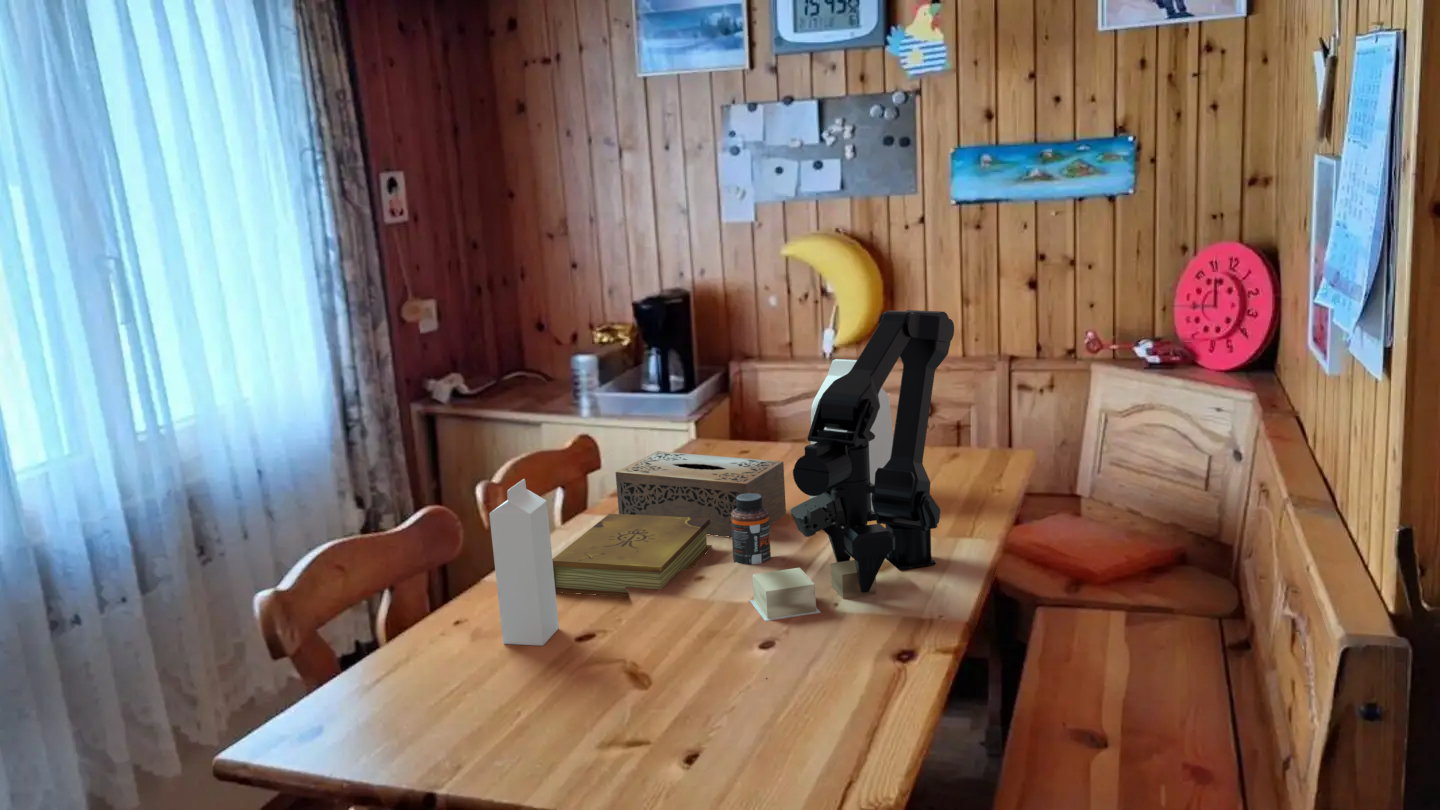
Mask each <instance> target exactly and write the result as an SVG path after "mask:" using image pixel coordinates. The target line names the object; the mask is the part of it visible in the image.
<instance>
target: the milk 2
mask: <svg viewBox="0 0 1440 810" xmlns="http://www.w3.org/2000/svg"><path fill="white" fill-rule="evenodd" d="M857 360H858V359H844V358H842V359H841V358H835V359H833V360H832V361H831V364H830V366H829V369H828V372H827V375H826V377H825V379H824V381H822V384H821V386H820V388H819V389H818V391H817V393H816V395H815V397H814V399H813V401H812V404H811V407H810V408H811V409H810V426H811V425H812V422H813V419H814V415H815V412H816V409H817V406H818V403H819V400H820V398H821V397H822V395H823V393H824V392H825V391H826V390H827V388H828V387H829V386H830V385H831V384H832V383H833V382H834V381H835V380H837V379H838V378H840V377H842V376H844V375H846V374H848V373H849V372H850V371H851V369H852V368H853V366H854V364H855V363H856V361H857ZM878 397H879V403H880V409H879V411H878V413H877V417H876V419H875V422H874V424H873V425H872V427H871V429H870V431H871V432H872V433H873V434H874V435H875V438H874V439H873V440H871V441H869V462H870V482H871V483H872V484H873V485H874V483H875V472H876V471H877V469H878V468H883V467H884V466H885V465H886V463H887V462H888V461H889V460H890V457H891V451H892V444H893V437H894V432H893V421H892V410H891V401H890V397H889V395H888V393H887V392H886V390H885V389H884V388H883V386H882V387H881V389H880V391H879V394H878ZM824 430H829V431H838V432H847V431H846V430H837V429H828V428H826V427H825V428H824ZM815 443H817V442H812V441H810V444H815ZM813 497H816V496H809V499H811V498H813ZM871 497H872V493H871ZM871 510H872V511H873V512H874V510H873V506H872V501H871Z"/></svg>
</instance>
